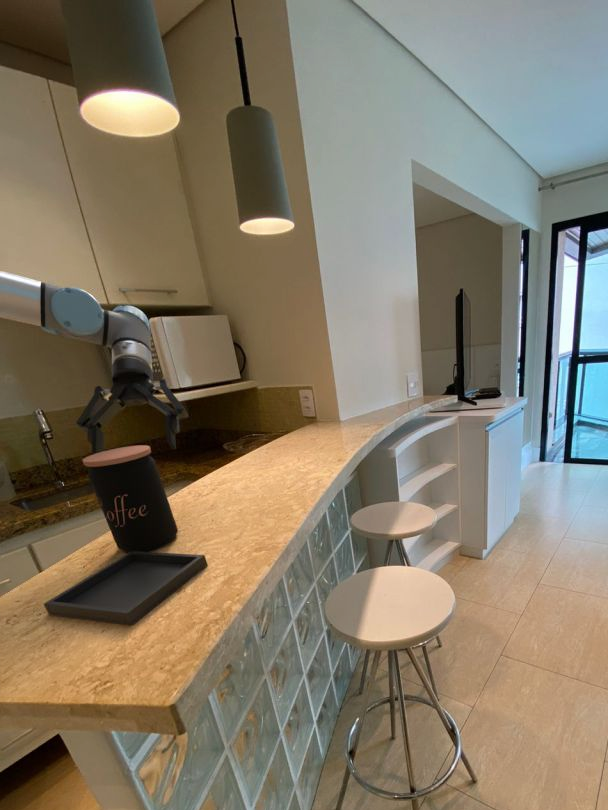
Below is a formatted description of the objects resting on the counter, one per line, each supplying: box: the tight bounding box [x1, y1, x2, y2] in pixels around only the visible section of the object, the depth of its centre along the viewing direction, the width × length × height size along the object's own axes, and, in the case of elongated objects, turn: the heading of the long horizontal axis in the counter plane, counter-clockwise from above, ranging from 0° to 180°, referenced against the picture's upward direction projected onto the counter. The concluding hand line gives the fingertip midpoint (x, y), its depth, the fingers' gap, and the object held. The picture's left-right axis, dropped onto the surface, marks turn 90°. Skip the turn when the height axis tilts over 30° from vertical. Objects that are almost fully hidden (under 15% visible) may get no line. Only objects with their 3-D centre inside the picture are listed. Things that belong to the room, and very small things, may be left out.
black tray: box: [43, 551, 208, 626], centre depth 63 cm, size 16×16×2 cm
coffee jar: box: [82, 444, 179, 554], centre depth 76 cm, size 11×11×18 cm
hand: (135, 451), depth 81 cm, fingers open, 13 cm apart
